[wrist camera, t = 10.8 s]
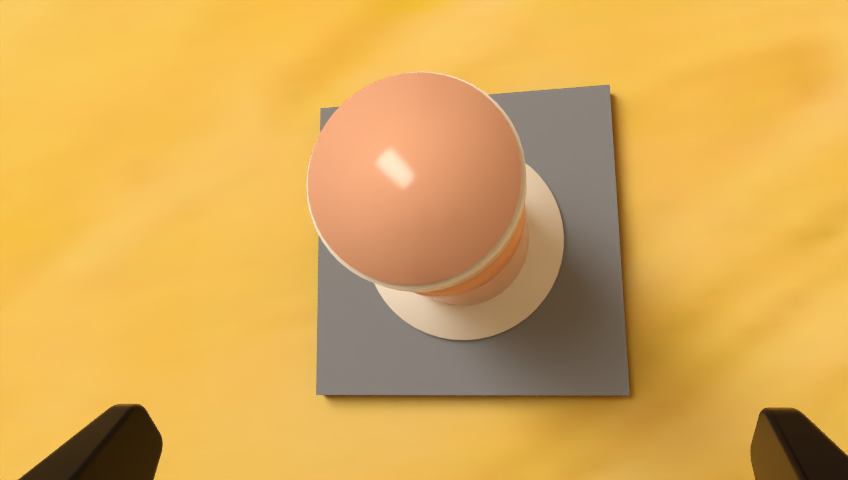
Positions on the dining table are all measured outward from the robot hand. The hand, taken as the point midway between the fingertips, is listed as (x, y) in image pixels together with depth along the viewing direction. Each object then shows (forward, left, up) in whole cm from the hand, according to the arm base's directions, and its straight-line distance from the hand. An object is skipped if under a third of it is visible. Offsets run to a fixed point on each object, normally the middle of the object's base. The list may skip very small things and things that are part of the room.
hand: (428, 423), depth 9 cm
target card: (+5, +2, -14) cm, 14 cm away
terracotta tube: (+5, +2, -13) cm, 14 cm away
